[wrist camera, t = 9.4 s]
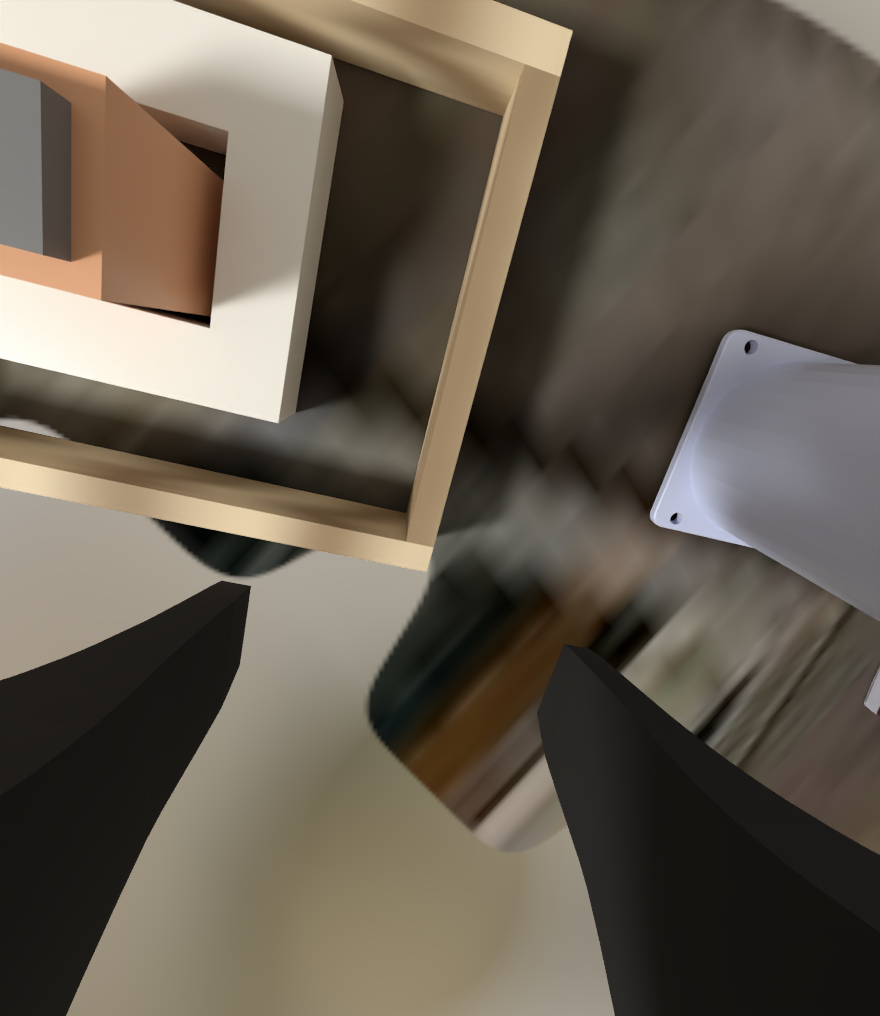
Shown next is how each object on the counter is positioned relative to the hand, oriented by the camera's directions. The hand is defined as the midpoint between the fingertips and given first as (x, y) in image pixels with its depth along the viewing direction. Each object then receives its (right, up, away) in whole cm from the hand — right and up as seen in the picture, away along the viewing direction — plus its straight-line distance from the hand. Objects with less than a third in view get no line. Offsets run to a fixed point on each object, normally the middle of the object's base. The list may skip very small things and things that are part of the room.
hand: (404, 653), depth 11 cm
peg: (-8, +12, +5) cm, 16 cm away
